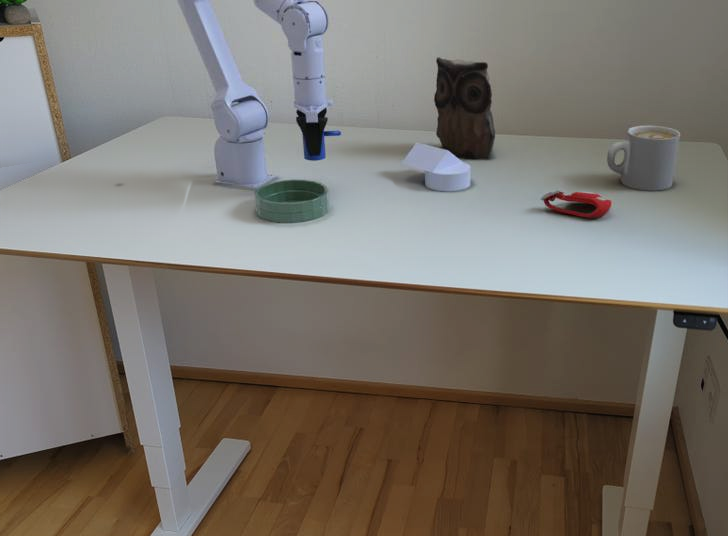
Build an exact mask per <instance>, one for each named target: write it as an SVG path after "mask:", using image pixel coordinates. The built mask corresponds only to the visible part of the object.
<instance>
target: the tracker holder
mask: <svg viewBox="0 0 728 536" xmlns="http://www.w3.org/2000/svg"><path fill="white" fill-rule="evenodd" d="M556 199H558V200H561V201H565V202H570V203H579V204H580V203H581V204H590V205H592V206H594V207H596V208H595V210H594V211H593V212H591V213H585V212H581V211H575V210H570V209H564V208H560V207H558V206H555V205H553V204H551V203H550V202H554V201H555V200H556ZM540 200H541V201H543V204H544V205H545V207H547V208H549V210H550V209H551V210H553V211H555V212H558V213H563V214H567V215H572V216H576V217H582V218H590V219H591V218H592V219H599V218H602V217H603V216H605V215H606V214H607V213H608V212H609V210H610V209H611V207H612V200H611V199H605V198H604V197H602V195H600V194H598V193H596V192H592V191H591V192H590V191H575V192H572V193H571V194H570V195H566V194H565V191H564V190H561V189H557V190H555V191H550V192H547V193H545V194H544V195H542V197H540Z"/></svg>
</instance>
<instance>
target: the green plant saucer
mask: <svg viewBox="0 0 728 536" xmlns="http://www.w3.org/2000/svg"><path fill="white" fill-rule="evenodd" d="M253 194H254V195H253V196H254V204H255V212H256V215H257V216H258V217H259V218H260V219H262V220H265V221H268V222H273V223H279V224H281V223H282V224H283V223H285V224H287V223H288V224H291V223H292V224H293V223H302V222H307V221H312V220H313V221H314V220H316V219H319V218H321V217H323V216H324V215H326V214H327V213H328V212H329V210H330V194H329V188H328V186H327V185H326V184H323V183H322V182H319V181H315V180H309V179H283V180H277V181H276V180H275V181H272V182H267V183H266V184H265V183H264V184H262V185H260V186H258V187H256V189H255V190H254V191H253Z"/></svg>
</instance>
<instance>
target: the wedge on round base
mask: <svg viewBox="0 0 728 536" xmlns="http://www.w3.org/2000/svg"><path fill="white" fill-rule="evenodd" d="M401 165H404V166H407V167H411V168H415V169H418V170H422V171H424V184H425V186H426V187H427V188H428V189H430V190H434V191H438V192H457V191H462V190H465V189H468V188H469V187H470V186H471V171H472V167H471V165H470V164H468V163H466V162H464V161H462V160H461V159H460V158H459V157H456V156H454V155H453V154H452V153H451V152H449V151H448V150H444V149H441V148H440V147H436V146H432V145H428V144H425V143H420V142H417V141H416V142H415V144H414V145H413V146H412V148H411V149H410V151H409V152H408V154H407V155H406V156H405V158H404V159H403V161H402V162H401Z"/></svg>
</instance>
